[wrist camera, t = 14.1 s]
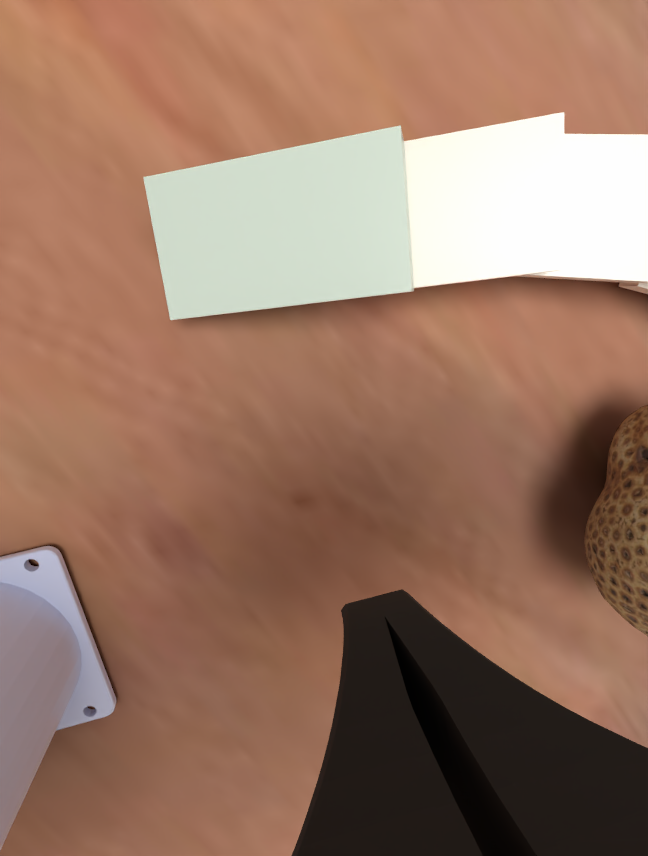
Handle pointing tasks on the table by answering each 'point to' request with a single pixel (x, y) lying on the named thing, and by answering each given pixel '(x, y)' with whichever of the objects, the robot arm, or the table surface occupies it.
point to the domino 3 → (604, 209)
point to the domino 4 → (635, 287)
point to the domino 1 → (285, 227)
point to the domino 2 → (487, 202)
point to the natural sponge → (623, 524)
